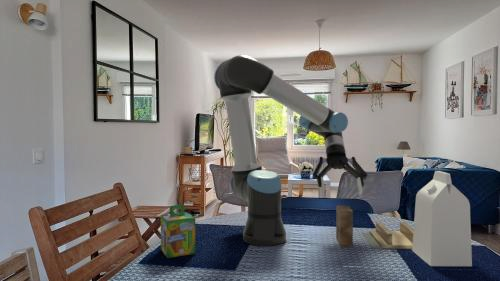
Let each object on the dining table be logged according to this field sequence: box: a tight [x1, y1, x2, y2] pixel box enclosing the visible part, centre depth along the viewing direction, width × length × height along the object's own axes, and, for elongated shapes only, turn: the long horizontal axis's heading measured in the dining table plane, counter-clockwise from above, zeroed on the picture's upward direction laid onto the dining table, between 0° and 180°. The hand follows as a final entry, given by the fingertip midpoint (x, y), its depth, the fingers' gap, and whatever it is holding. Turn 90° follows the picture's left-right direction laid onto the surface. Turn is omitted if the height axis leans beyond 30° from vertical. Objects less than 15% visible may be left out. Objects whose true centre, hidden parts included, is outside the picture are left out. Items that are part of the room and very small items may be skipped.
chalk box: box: [160, 204, 196, 259], centre depth 113 cm, size 9×9×15 cm
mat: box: [360, 232, 410, 250], centre depth 122 cm, size 20×16×1 cm
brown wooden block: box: [335, 205, 354, 248], centre depth 120 cm, size 4×8×12 cm, turn 176°
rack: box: [369, 221, 414, 250], centre depth 122 cm, size 14×15×4 cm
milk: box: [411, 170, 473, 267], centre depth 105 cm, size 12×12×26 cm
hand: (342, 194), depth 130 cm, fingers open, 13 cm apart
